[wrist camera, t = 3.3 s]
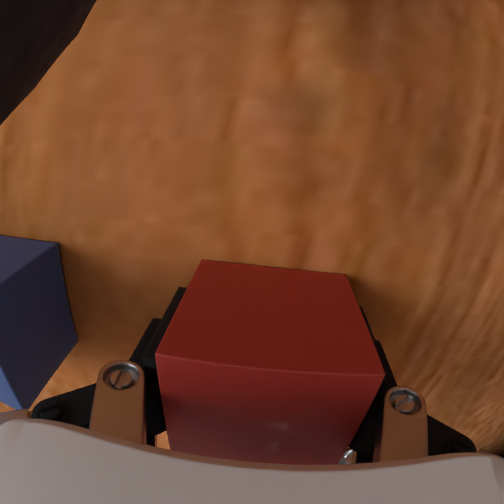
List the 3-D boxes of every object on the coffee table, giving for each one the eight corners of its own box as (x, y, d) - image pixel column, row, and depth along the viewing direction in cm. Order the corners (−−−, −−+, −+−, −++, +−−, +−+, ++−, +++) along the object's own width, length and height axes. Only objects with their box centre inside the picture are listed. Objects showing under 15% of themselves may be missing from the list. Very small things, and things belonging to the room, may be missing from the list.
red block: (201, 259, 11) (154, 353, 6) (346, 274, 11) (386, 374, 6) (200, 366, 13) (173, 464, 8) (318, 378, 13) (329, 478, 8)
